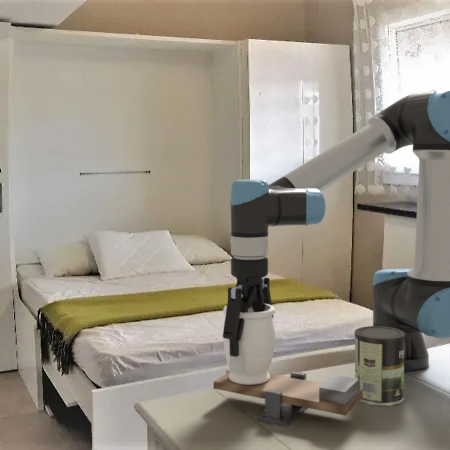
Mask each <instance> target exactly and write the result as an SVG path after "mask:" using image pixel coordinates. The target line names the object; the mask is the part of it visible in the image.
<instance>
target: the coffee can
mask: <svg viewBox="0 0 450 450" xmlns="http://www.w3.org/2000/svg"><path fill="white" fill-rule="evenodd" d="M354 339H355V340H354V378H356V379H359V390H363V398H362V399H361V400H360V401H359V403H362V404H365V405H370V406H377V407H391V406H396V405H400V404H401V403H403V401H405V395H404V394H405V393H404V391H405V390H404V389H405V388H404V387H405V384H404V383H405V380H404V379H405V377H404V376H405V371H404V342H405V333H404V332H403V331H402V330H399V329H396V328H392V327H384V326H373V325H369V326H363V327H358V328H356V329H355V330H354Z"/></svg>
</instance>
